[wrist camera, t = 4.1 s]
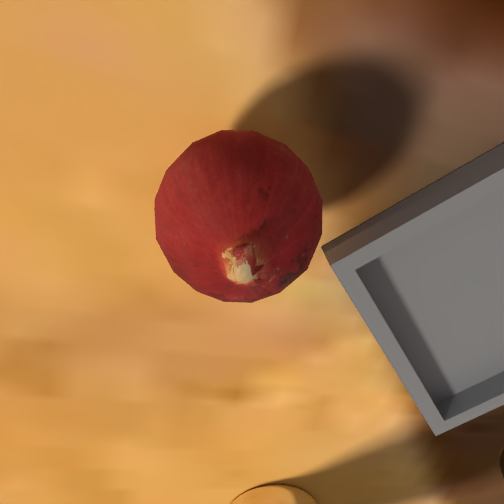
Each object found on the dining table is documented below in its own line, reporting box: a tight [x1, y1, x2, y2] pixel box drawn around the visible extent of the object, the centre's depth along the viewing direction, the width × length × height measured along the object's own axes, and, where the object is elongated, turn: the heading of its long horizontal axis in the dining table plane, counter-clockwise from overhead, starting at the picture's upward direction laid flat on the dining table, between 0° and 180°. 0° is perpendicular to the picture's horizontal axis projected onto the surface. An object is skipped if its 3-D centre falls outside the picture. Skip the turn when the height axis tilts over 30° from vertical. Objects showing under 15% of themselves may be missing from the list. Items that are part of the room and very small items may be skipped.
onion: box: [155, 130, 322, 303], centre depth 16 cm, size 6×6×8 cm
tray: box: [321, 143, 504, 436], centre depth 22 cm, size 13×13×2 cm
